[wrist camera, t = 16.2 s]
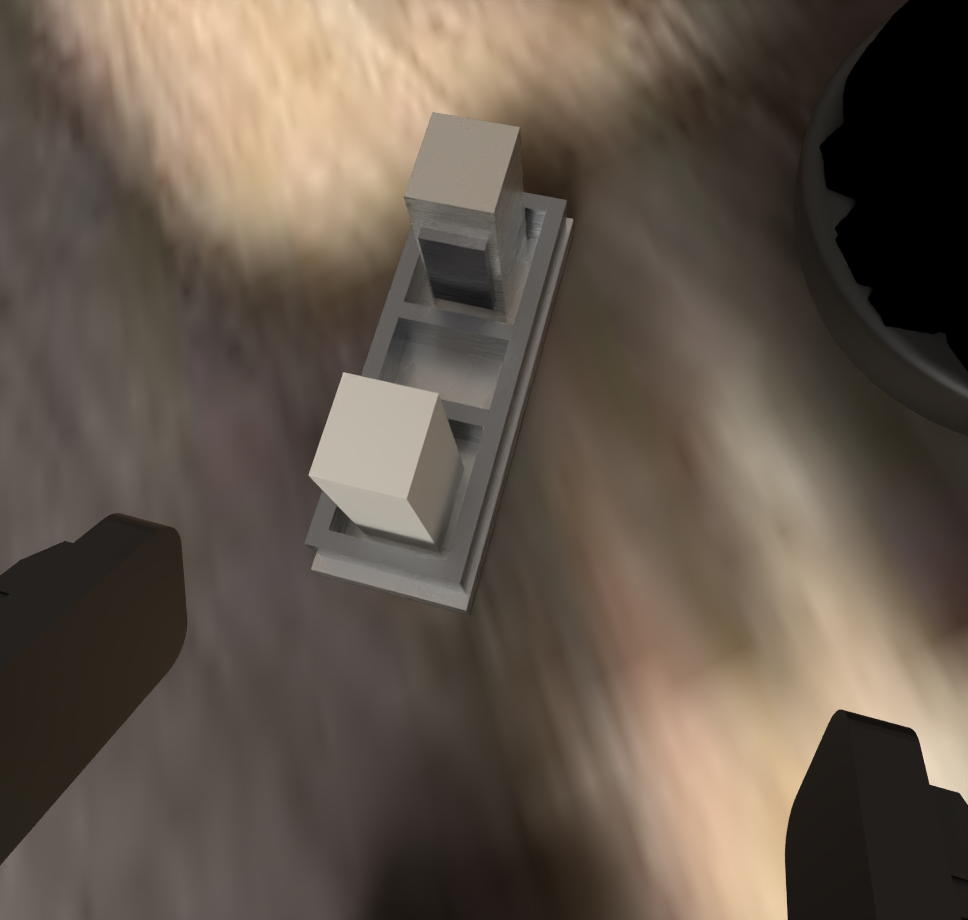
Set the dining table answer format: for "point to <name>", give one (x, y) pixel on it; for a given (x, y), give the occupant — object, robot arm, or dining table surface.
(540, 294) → the gray compartment block tray
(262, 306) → the dining table surface
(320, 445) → the tall off-white block
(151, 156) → the dining table surface
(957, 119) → the coal bowl
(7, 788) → the robot arm
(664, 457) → the dining table surface
